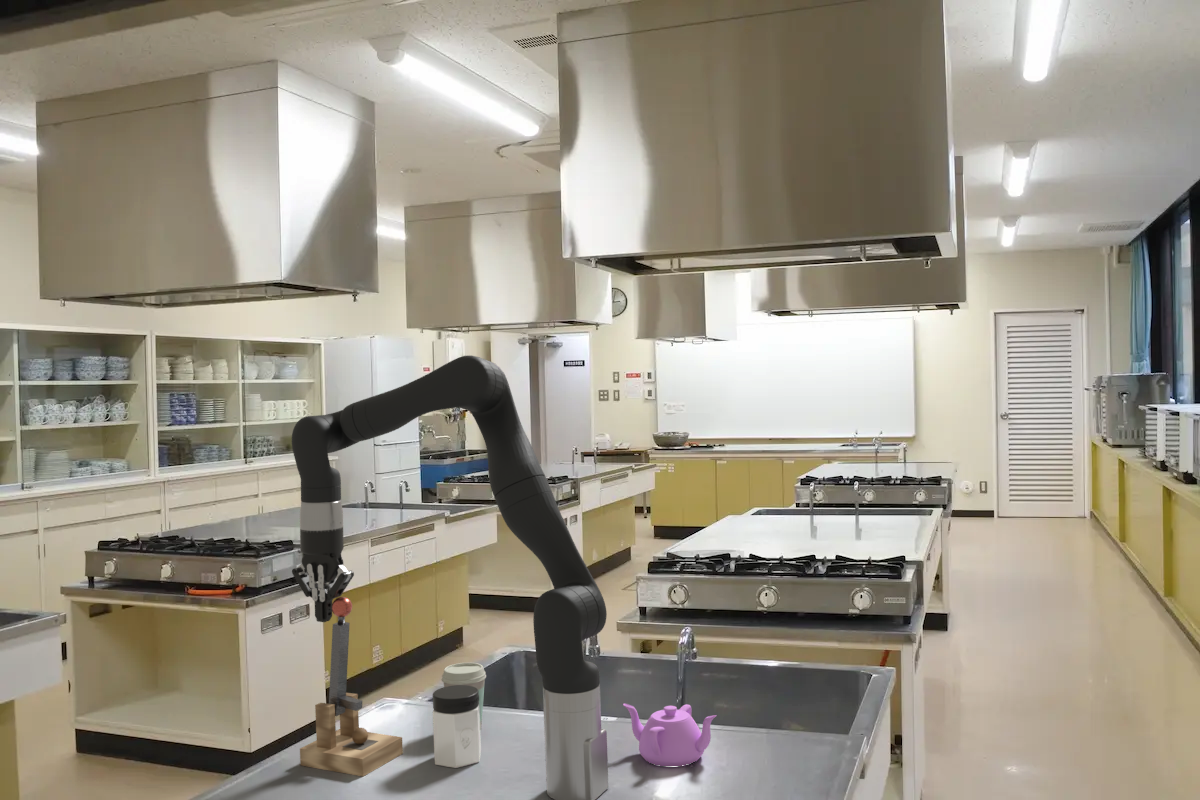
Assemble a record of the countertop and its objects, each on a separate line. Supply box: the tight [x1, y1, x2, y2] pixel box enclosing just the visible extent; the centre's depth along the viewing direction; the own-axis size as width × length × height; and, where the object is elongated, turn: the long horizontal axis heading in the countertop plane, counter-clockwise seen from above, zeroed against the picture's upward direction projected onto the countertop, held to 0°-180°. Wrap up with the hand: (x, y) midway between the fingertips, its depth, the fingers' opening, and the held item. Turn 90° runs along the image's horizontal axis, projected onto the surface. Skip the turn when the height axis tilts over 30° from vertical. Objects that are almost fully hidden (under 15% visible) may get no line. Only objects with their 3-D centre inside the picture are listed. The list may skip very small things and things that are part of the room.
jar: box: [432, 685, 482, 769], centre depth 174 cm, size 9×8×12 cm
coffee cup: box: [441, 662, 487, 731], centre depth 189 cm, size 8×9×12 cm
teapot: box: [622, 703, 717, 766], centre depth 172 cm, size 12×14×9 cm
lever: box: [328, 596, 363, 717], centre depth 176 cm, size 7×4×21 cm, turn 64°
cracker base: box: [299, 692, 404, 777], centre depth 176 cm, size 14×11×10 cm
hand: (323, 620), depth 178 cm, fingers closed
